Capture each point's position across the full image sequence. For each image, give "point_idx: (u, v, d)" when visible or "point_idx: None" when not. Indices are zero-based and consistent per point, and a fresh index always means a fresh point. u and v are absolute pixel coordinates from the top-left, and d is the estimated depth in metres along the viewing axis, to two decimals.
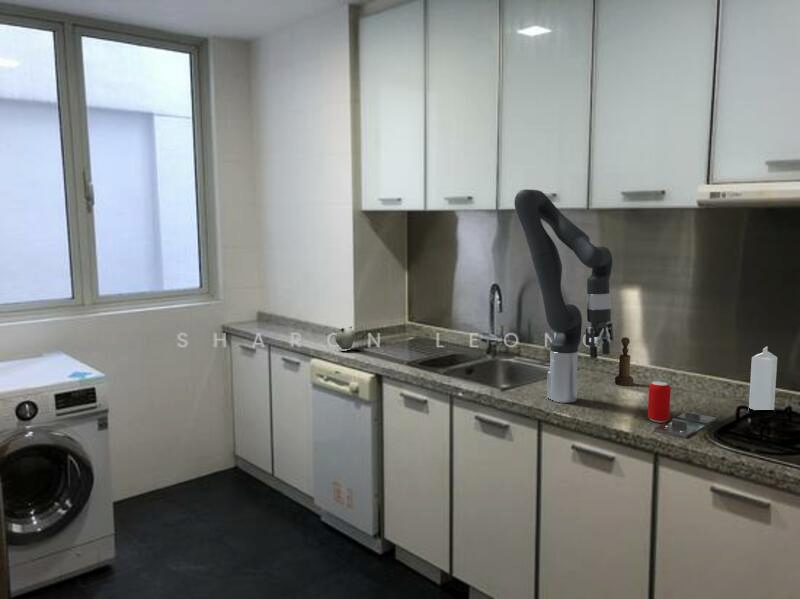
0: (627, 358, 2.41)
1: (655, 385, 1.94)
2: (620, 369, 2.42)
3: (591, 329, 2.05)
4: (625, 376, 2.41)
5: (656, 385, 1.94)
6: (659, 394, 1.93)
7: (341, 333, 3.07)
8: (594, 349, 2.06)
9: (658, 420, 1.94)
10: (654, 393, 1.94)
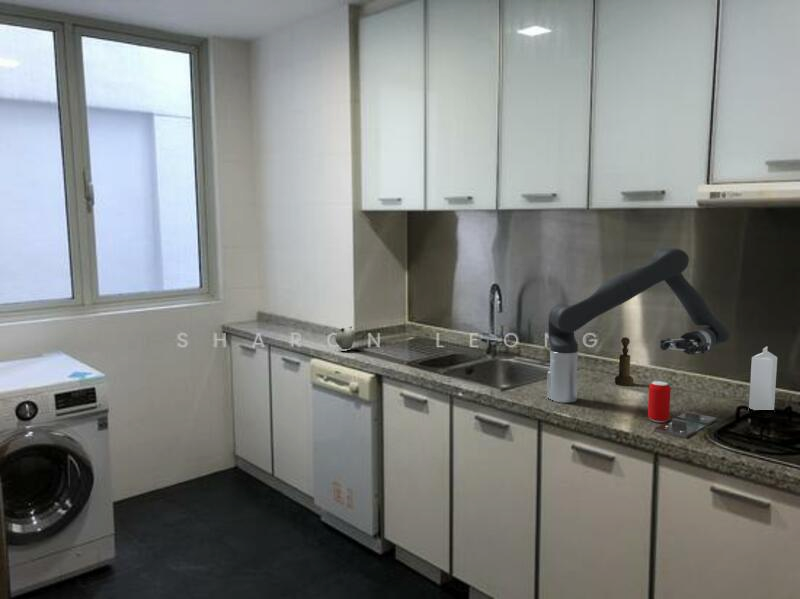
0: (627, 358, 2.41)
1: (655, 385, 1.94)
2: (620, 369, 2.42)
3: (709, 349, 2.05)
4: (625, 376, 2.41)
5: (656, 385, 1.94)
6: (659, 394, 1.93)
7: (341, 333, 3.07)
8: None
9: (658, 420, 1.94)
10: (654, 393, 1.94)
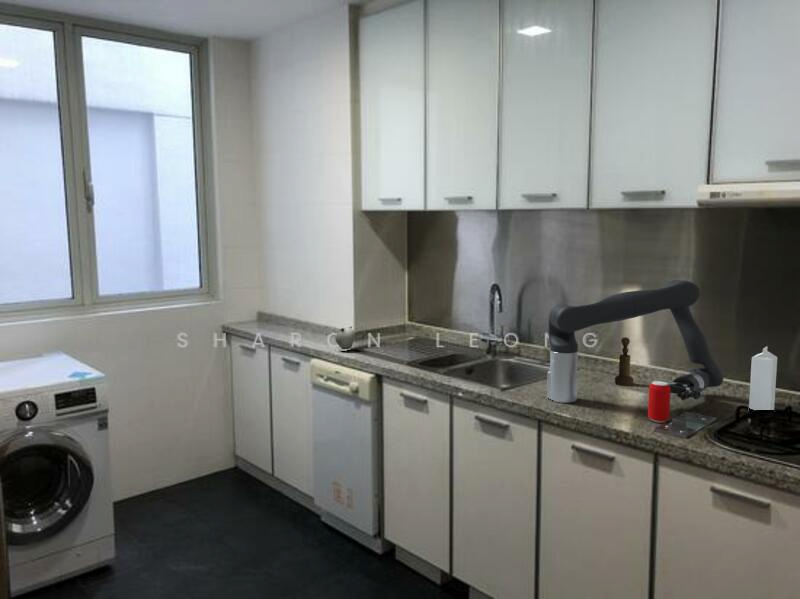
0: (627, 358, 2.41)
1: (655, 385, 1.94)
2: (620, 369, 2.42)
3: None
4: (625, 376, 2.41)
5: (656, 385, 1.94)
6: (659, 394, 1.93)
7: (341, 333, 3.07)
8: (688, 397, 2.00)
9: (658, 420, 1.94)
10: (654, 393, 1.94)
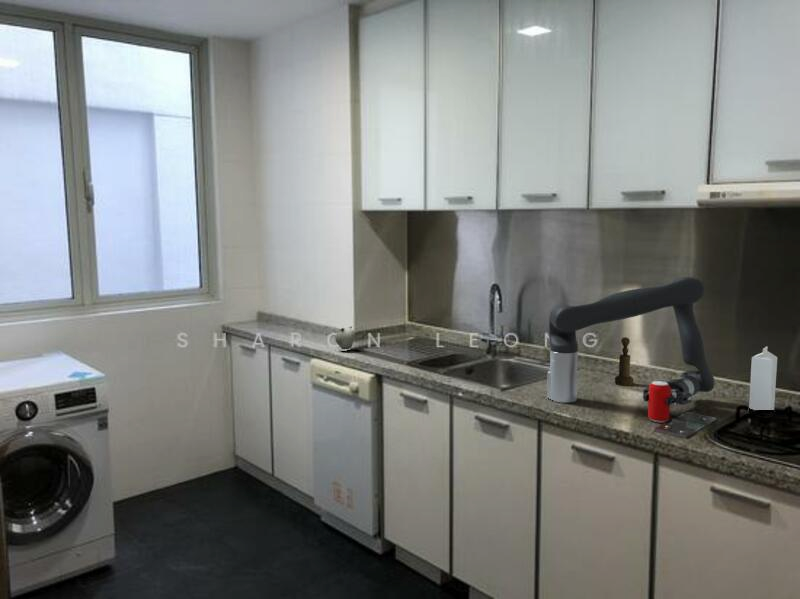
0: (627, 358, 2.41)
1: (655, 385, 1.94)
2: (620, 369, 2.42)
3: (690, 400, 1.97)
4: (625, 376, 2.41)
5: (656, 385, 1.94)
6: (659, 394, 1.93)
7: (341, 333, 3.07)
8: None
9: (658, 420, 1.94)
10: (654, 393, 1.94)
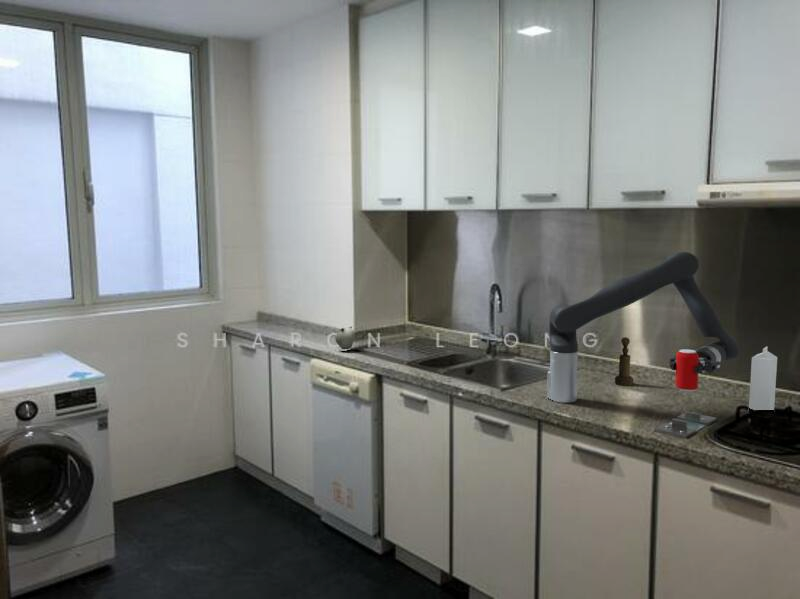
0: (627, 358, 2.41)
1: (683, 353, 1.89)
2: (620, 369, 2.42)
3: (719, 368, 1.91)
4: (625, 376, 2.41)
5: (684, 353, 1.89)
6: (687, 362, 1.88)
7: (341, 333, 3.07)
8: None
9: (686, 389, 1.89)
10: (682, 361, 1.89)
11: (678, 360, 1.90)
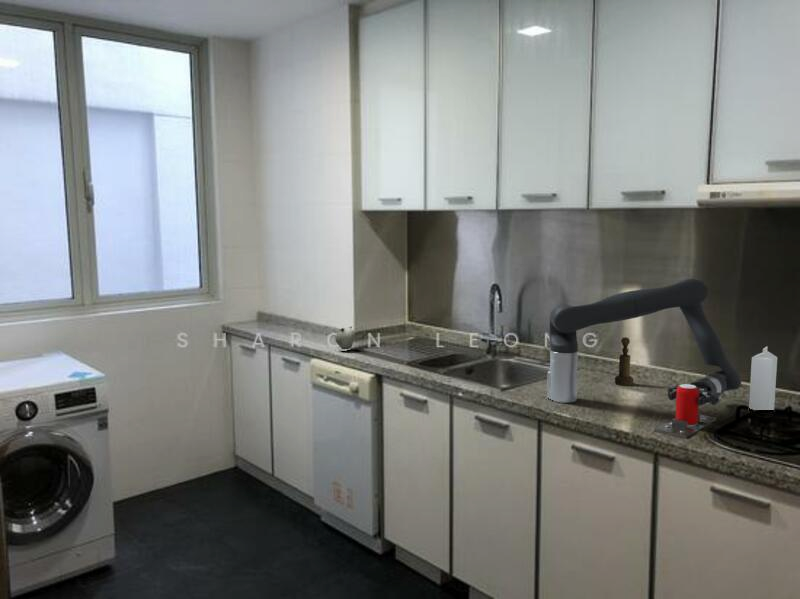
0: (627, 358, 2.41)
1: (684, 388, 1.90)
2: (620, 369, 2.42)
3: (720, 400, 1.92)
4: (625, 376, 2.41)
5: (684, 388, 1.89)
6: (687, 398, 1.89)
7: (341, 333, 3.07)
8: None
9: None
10: (682, 396, 1.90)
11: (678, 395, 1.91)
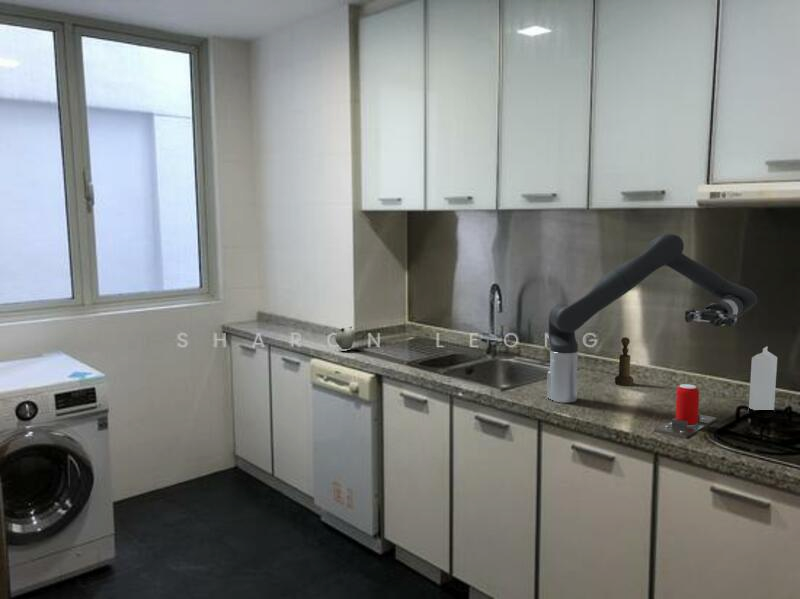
0: (627, 358, 2.41)
1: (684, 388, 1.90)
2: (620, 369, 2.42)
3: None
4: (625, 376, 2.41)
5: (684, 388, 1.89)
6: (687, 398, 1.89)
7: (341, 333, 3.07)
8: None
9: None
10: (682, 396, 1.90)
11: (678, 395, 1.91)
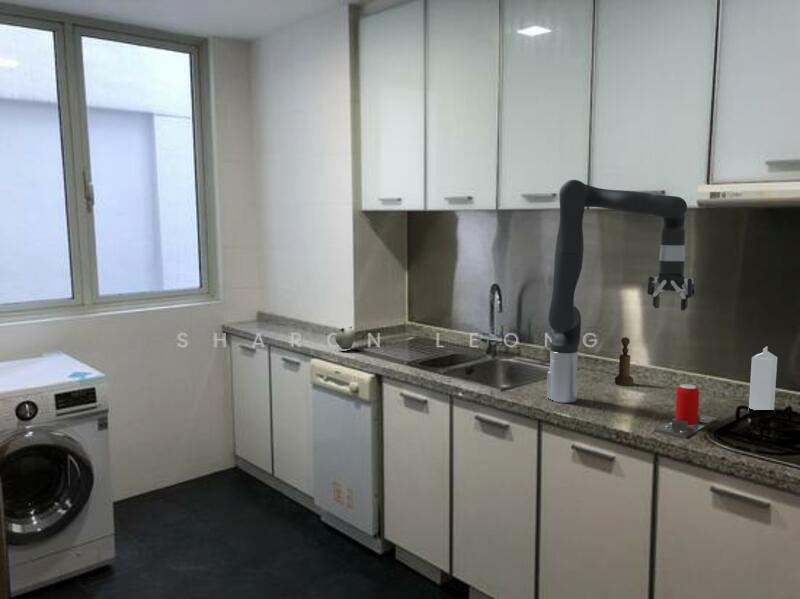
0: (627, 358, 2.41)
1: (684, 388, 1.90)
2: (620, 369, 2.42)
3: (693, 280, 2.02)
4: (625, 376, 2.41)
5: (684, 388, 1.89)
6: (687, 398, 1.89)
7: (341, 333, 3.07)
8: None
9: None
10: (682, 397, 1.90)
11: (678, 395, 1.91)
